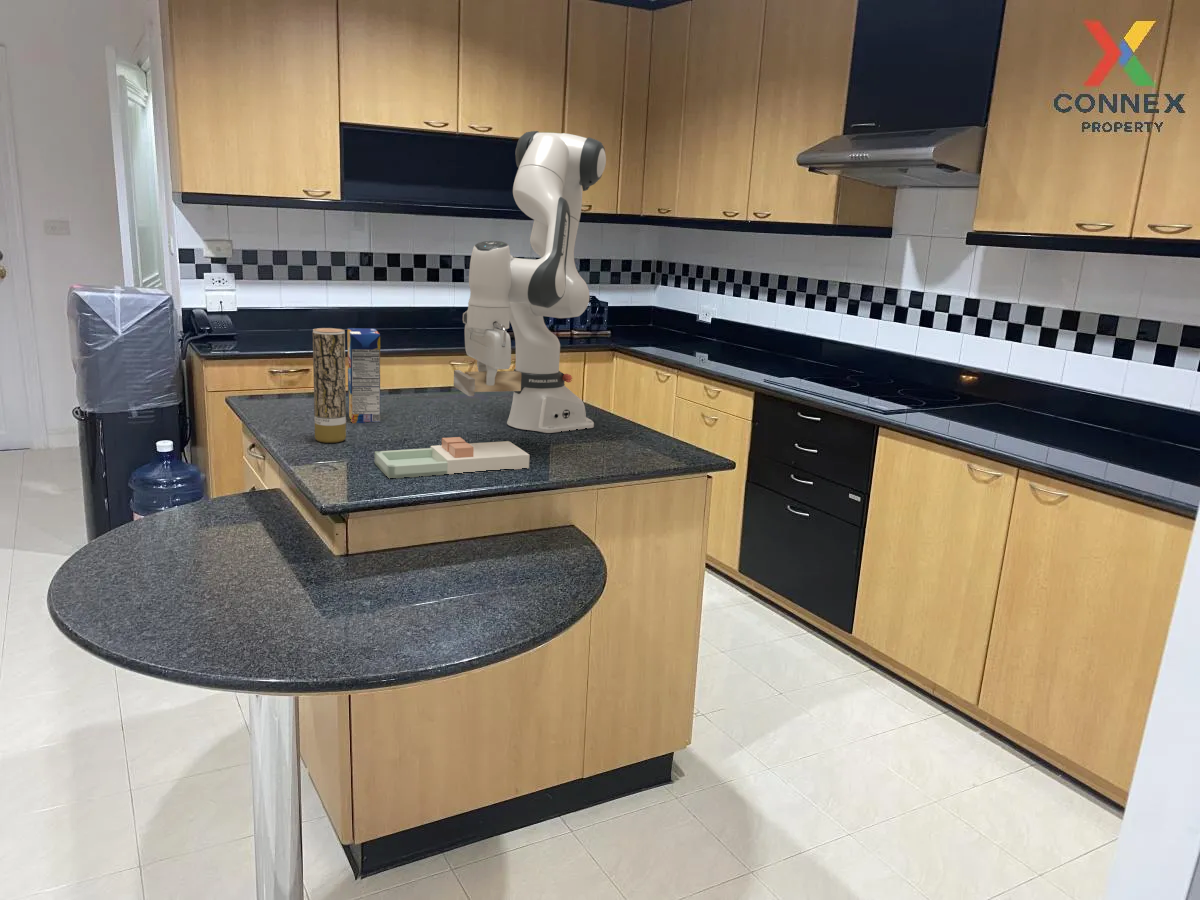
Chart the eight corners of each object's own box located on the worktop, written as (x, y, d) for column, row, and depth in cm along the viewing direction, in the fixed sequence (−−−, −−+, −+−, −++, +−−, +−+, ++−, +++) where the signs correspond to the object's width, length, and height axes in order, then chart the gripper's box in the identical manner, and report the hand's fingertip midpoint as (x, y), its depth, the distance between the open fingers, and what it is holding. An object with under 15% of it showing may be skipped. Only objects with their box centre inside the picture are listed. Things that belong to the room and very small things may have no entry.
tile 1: (459, 445, 192) (459, 436, 192) (465, 450, 189) (465, 441, 188) (441, 447, 190) (441, 437, 190) (447, 451, 187) (447, 442, 187)
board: (508, 454, 200) (508, 441, 199) (528, 468, 190) (529, 454, 189) (430, 459, 192) (430, 445, 191) (447, 474, 181) (447, 460, 181)
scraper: (510, 385, 201) (510, 367, 200) (527, 394, 192) (528, 376, 191) (453, 386, 195) (454, 368, 194) (468, 396, 186) (469, 377, 185)
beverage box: (351, 423, 218) (350, 334, 213) (348, 413, 228) (347, 328, 223) (380, 423, 221) (380, 334, 215) (375, 413, 231) (375, 328, 225)
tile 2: (467, 451, 188) (467, 442, 188) (473, 456, 185) (473, 447, 184) (448, 452, 186) (449, 443, 186) (454, 457, 183) (454, 448, 182)
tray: (430, 459, 192) (430, 448, 191) (447, 474, 181) (447, 462, 181) (374, 463, 186) (374, 451, 186) (388, 479, 176) (388, 466, 175)
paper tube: (337, 445, 198) (335, 333, 192) (309, 441, 199) (306, 330, 193) (351, 438, 204) (350, 329, 198) (324, 435, 206) (322, 327, 199)
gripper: (520, 325, 182) (517, 392, 185) (487, 314, 199) (485, 374, 203) (490, 325, 179) (488, 392, 182) (460, 313, 197) (458, 375, 200)
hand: (486, 383), depth 193 cm, fingers closed on scraper, 2 cm apart
